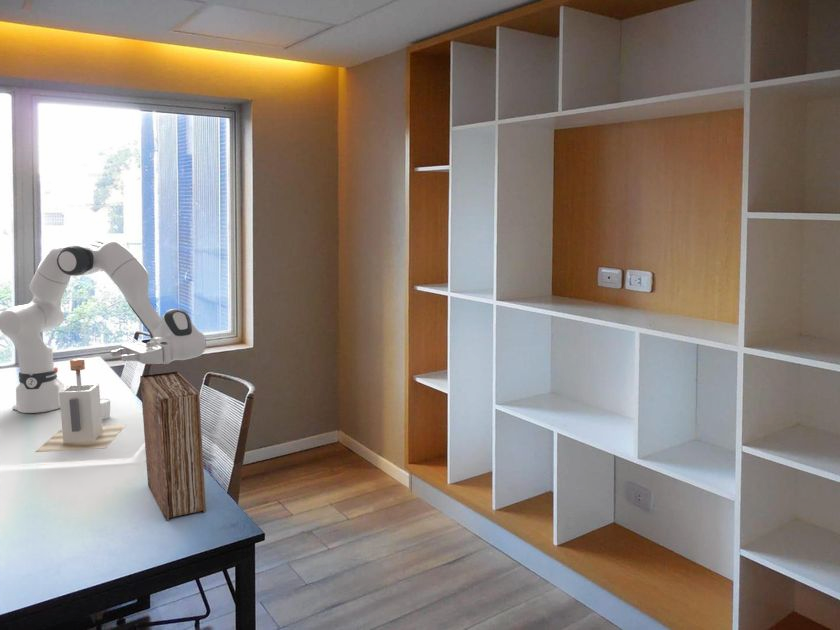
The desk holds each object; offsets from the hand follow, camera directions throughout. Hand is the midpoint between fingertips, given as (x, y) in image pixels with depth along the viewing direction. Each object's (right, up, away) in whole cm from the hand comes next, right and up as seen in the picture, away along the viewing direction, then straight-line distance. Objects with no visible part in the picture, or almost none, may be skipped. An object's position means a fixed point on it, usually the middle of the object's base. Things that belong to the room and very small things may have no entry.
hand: (116, 356), depth 227 cm
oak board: (-8, -27, -5) cm, 28 cm away
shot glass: (-13, -24, +17) cm, 32 cm away
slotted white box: (-8, -26, -6) cm, 28 cm away
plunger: (-8, -24, -5) cm, 26 cm away
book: (+36, -33, -49) cm, 70 cm away
